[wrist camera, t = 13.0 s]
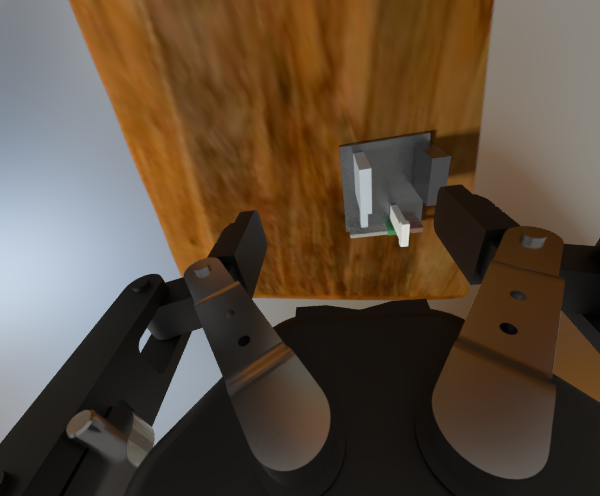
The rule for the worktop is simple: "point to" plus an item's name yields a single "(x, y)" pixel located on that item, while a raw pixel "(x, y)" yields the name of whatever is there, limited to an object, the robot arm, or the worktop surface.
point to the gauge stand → (394, 181)
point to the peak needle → (400, 225)
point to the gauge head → (363, 186)
